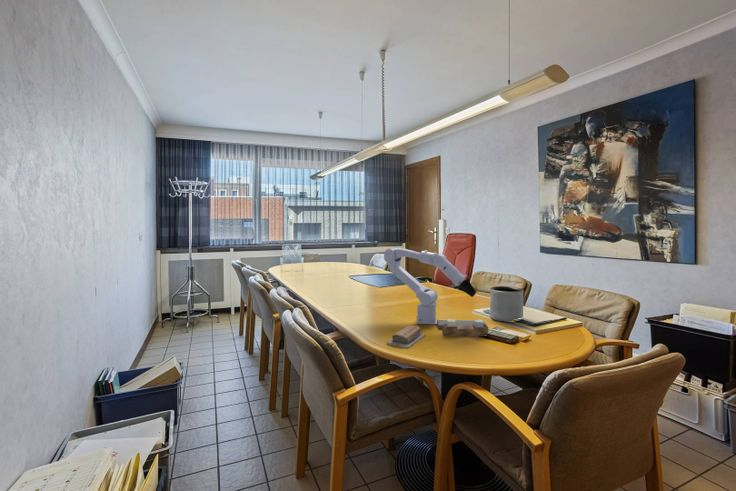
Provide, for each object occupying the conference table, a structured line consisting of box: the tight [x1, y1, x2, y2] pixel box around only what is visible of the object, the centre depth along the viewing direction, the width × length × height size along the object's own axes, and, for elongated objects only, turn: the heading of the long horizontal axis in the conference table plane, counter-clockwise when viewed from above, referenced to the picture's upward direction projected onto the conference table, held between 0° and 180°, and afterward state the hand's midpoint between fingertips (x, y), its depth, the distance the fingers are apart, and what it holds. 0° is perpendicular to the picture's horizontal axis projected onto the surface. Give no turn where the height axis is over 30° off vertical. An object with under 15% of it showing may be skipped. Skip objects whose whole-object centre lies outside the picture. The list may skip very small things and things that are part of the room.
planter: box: [489, 285, 524, 323], centre depth 189 cm, size 16×16×16 cm
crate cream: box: [446, 318, 456, 327], centre depth 164 cm, size 4×4×3 cm
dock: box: [436, 318, 485, 330], centre depth 175 cm, size 22×10×2 cm, turn 84°
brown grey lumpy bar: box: [442, 322, 489, 338], centre depth 164 cm, size 19×6×5 cm, turn 84°
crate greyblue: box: [473, 319, 485, 327], centre depth 163 cm, size 4×4×3 cm
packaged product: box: [386, 324, 426, 349], centre depth 157 cm, size 18×5×10 cm
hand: (474, 294), depth 171 cm, fingers open, 7 cm apart
